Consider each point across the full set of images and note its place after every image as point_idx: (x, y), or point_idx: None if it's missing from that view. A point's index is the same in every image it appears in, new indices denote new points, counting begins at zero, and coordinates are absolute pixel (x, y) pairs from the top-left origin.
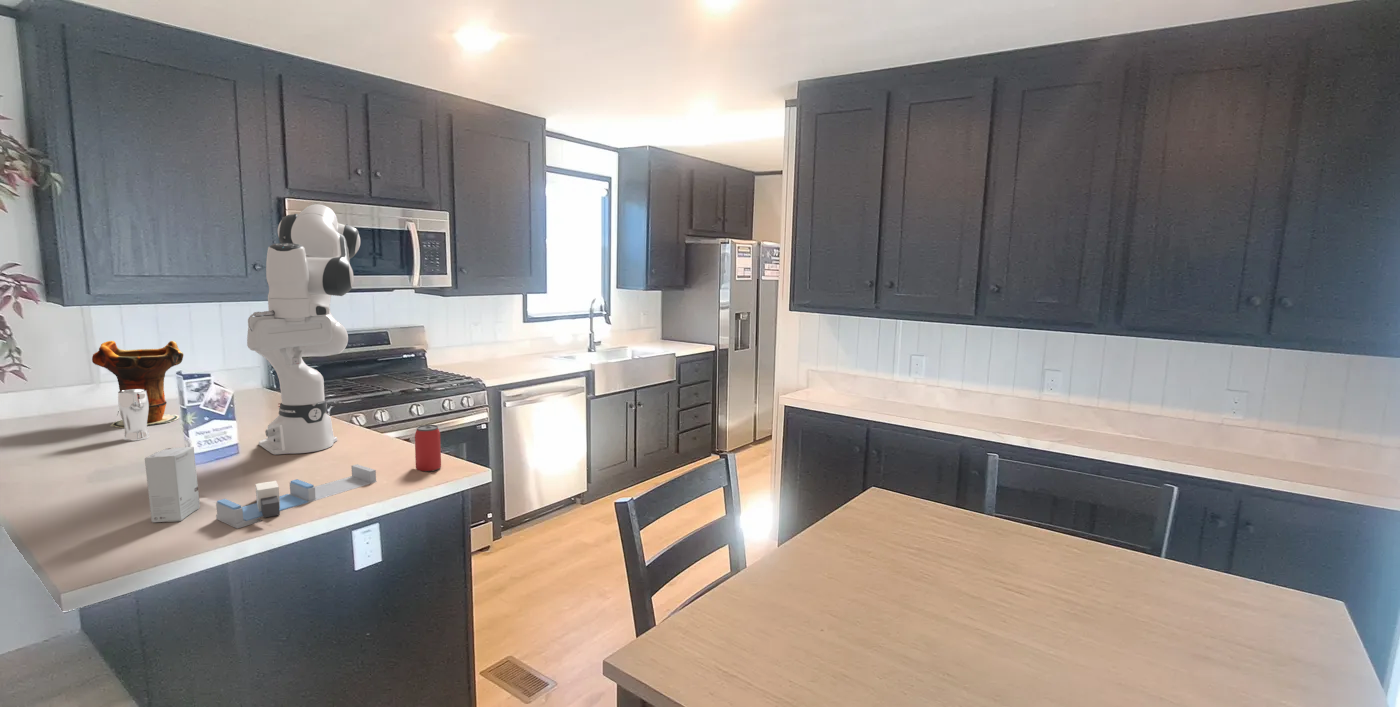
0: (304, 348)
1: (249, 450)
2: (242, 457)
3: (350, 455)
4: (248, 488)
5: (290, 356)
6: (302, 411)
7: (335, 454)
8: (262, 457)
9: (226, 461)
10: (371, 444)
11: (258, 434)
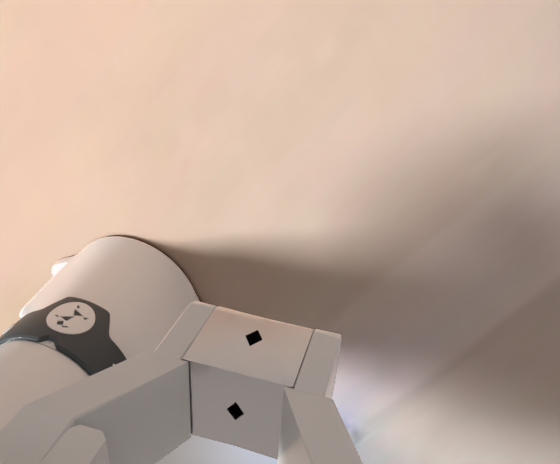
0: (6, 430)
1: None
2: None
3: (121, 129)
4: (479, 183)
5: (308, 420)
6: (96, 349)
7: (137, 179)
8: None
9: None
10: (23, 148)
11: None
